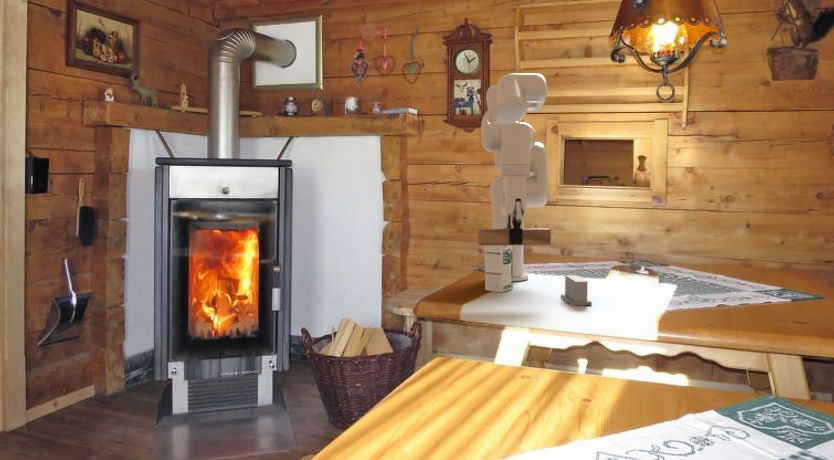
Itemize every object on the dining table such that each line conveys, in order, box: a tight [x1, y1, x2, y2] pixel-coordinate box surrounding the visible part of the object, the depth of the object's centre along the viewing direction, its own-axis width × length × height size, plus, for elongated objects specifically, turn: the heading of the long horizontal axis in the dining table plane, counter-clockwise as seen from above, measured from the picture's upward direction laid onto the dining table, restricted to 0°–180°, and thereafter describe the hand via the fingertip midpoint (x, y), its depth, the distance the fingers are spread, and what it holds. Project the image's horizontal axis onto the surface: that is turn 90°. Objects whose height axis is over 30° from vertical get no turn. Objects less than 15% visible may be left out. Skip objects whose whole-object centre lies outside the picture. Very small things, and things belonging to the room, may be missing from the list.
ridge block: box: [560, 274, 593, 306], centre depth 181 cm, size 11×5×6 cm, turn 3°
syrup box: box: [484, 245, 514, 293], centre depth 198 cm, size 6×6×14 cm
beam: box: [477, 227, 552, 246], centre depth 182 cm, size 4×18×4 cm, turn 92°
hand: (514, 242), depth 182 cm, fingers closed on beam, 3 cm apart
